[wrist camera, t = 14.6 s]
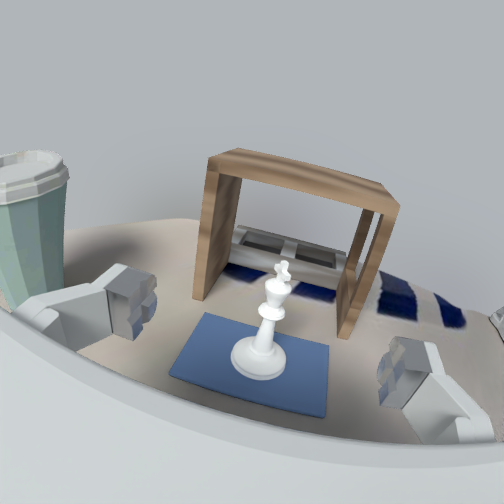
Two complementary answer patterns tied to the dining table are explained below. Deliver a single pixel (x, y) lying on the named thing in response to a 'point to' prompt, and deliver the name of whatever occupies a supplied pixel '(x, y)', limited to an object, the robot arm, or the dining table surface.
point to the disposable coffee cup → (31, 224)
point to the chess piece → (265, 333)
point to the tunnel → (285, 248)
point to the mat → (259, 391)
